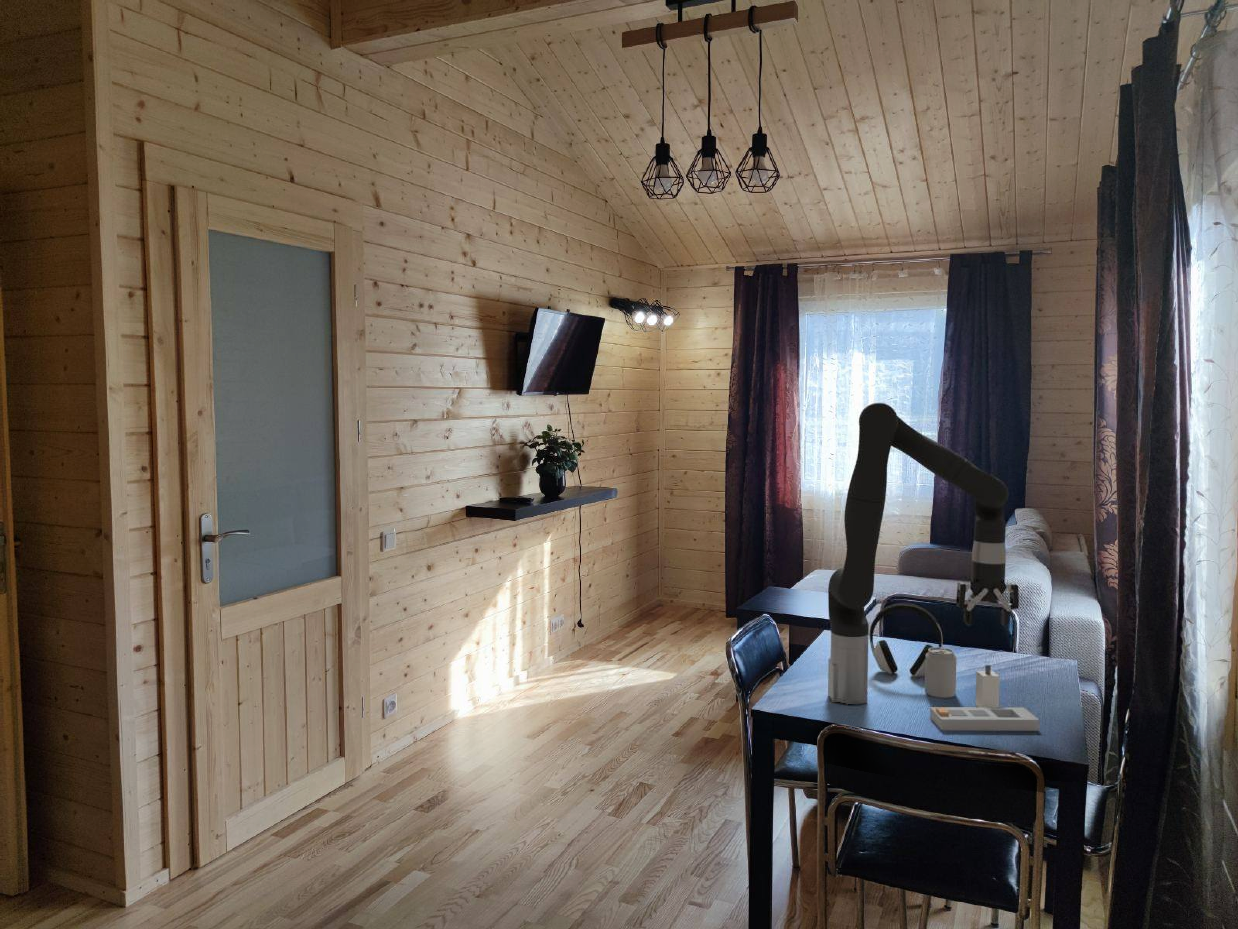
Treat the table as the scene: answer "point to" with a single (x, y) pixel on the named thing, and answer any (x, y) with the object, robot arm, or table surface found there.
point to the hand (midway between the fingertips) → (986, 625)
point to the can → (940, 672)
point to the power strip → (984, 718)
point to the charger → (987, 688)
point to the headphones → (882, 648)
